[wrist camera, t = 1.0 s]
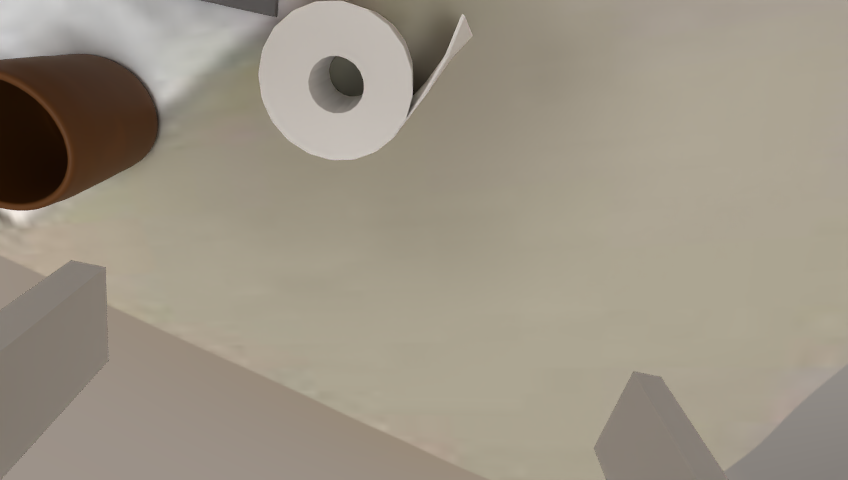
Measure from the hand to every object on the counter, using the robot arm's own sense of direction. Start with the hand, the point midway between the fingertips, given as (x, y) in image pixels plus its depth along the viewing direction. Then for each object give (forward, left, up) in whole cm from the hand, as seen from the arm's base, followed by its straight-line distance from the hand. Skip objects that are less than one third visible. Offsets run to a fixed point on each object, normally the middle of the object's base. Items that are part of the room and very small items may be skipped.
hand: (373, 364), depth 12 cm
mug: (+1, -22, -24) cm, 33 cm away
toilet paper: (-5, -2, -25) cm, 25 cm away
